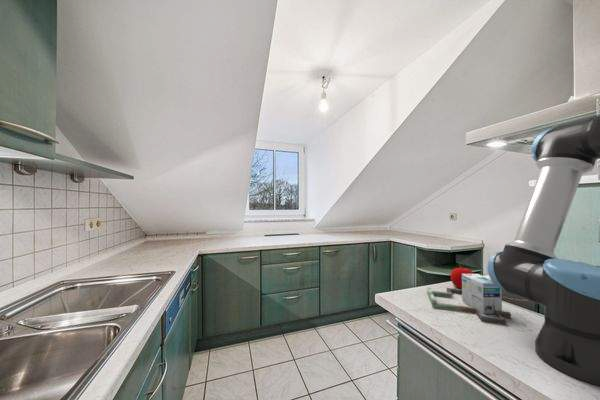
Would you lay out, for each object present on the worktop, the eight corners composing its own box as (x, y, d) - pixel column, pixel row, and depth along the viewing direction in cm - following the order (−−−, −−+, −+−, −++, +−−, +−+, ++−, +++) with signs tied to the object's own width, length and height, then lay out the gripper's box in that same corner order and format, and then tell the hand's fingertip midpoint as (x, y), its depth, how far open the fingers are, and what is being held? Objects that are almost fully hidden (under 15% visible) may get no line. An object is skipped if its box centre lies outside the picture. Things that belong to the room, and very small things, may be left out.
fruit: (463, 283, 109) (463, 261, 109) (481, 290, 100) (480, 267, 100) (445, 284, 108) (445, 262, 108) (462, 292, 99) (461, 268, 99)
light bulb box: (503, 314, 80) (502, 282, 80) (483, 314, 79) (483, 283, 79) (478, 301, 90) (478, 273, 90) (461, 301, 90) (460, 273, 90)
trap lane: (519, 327, 72) (519, 318, 72) (435, 314, 80) (435, 306, 80) (488, 296, 94) (488, 290, 94) (425, 288, 103) (425, 283, 103)
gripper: (641, 307, 62) (538, 297, 70) (574, 277, 86) (501, 272, 93) (641, 279, 62) (537, 272, 70) (573, 257, 86) (501, 253, 93)
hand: (516, 272), depth 82 cm, fingers open, 13 cm apart
